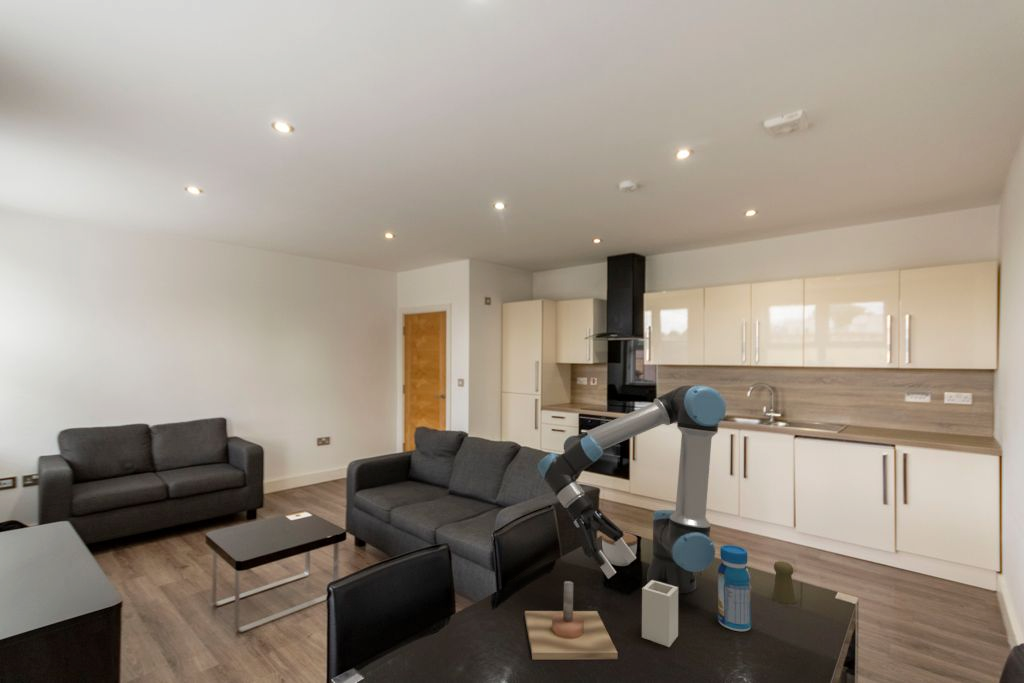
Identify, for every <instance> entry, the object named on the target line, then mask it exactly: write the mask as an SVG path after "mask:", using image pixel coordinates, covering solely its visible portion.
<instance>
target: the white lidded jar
mask: <svg viewBox="0 0 1024 683" xmlns="http://www.w3.org/2000/svg"><path fill="white" fill-rule="evenodd" d="M622 532H623V534H624V536H623V537H622V539H623V540H624V542H625V543H626V544H627V546H628V547H629V548H630V550H631V551H632V552H633V554H634V555H635V556H636V555H637V549H638V537H637V536H636V535H634V534H632V533H629V532H625V531H622ZM601 540H602V541H601V542H602V543H601V547H602V553H603V554H604V555H605V557H606V558H607V560H608V561H609V562H610V564H611V565H613V566H616V567H617V566H619V567H626V566H629V565H630V564H629V563H628V562H627V560H626V559H625V558H624V556H623V555H622V554H621V552H620V551H619V549H618V548H617V547H616V545H615V544H614V543H615V541H614V540H612V539H611V538H609V537H608V536H606V535H605V534H603V533H602V534H601Z"/></svg>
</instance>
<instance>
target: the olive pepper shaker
mask: <svg viewBox="0 0 1024 683" xmlns="http://www.w3.org/2000/svg"><path fill="white" fill-rule="evenodd" d="M773 570H774V572H775V578H774V584H773V593H772V599H773V598H774V599H775V600H774V599H773V600H774V601H776V602H778V601H779V602H778V603H780V602H782V603H781V604H784V603H787V604H786V605H794V603H795V604H796V596H795V591H794V590H795V589H794V585H793V579H792V578H793V577H792V575H793V574H794V567H793V565H792V564H791V563H789V562H788V561H787V562H786V561H783V560H782V561H781V560H779V561H775V562H774V564H773Z"/></svg>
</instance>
